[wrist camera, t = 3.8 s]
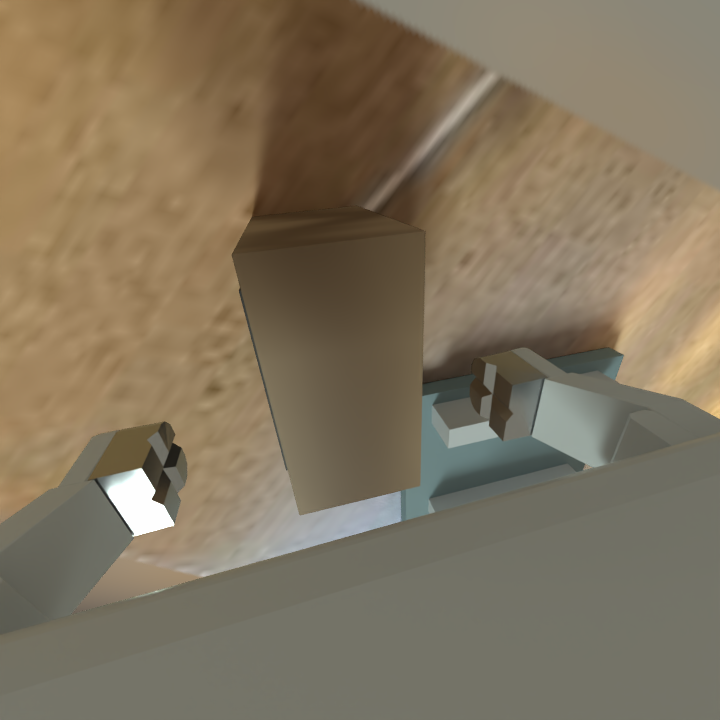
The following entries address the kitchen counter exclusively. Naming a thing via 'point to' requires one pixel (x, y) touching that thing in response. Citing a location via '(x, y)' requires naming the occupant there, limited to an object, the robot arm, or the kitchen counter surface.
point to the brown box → (338, 347)
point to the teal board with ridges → (486, 444)
